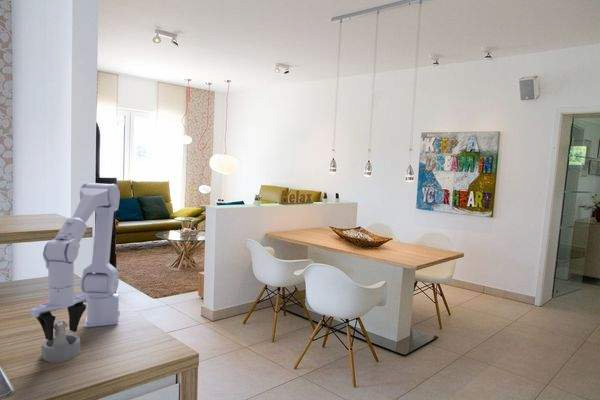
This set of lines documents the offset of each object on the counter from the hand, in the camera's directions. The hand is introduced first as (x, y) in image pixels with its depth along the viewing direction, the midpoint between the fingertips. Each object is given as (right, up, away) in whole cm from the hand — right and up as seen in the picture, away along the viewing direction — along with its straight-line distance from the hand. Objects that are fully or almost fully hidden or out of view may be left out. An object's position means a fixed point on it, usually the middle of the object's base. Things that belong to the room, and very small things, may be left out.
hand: (61, 334), depth 111 cm
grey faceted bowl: (0, -5, +1) cm, 5 cm away
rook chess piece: (-1, -5, +1) cm, 5 cm away
